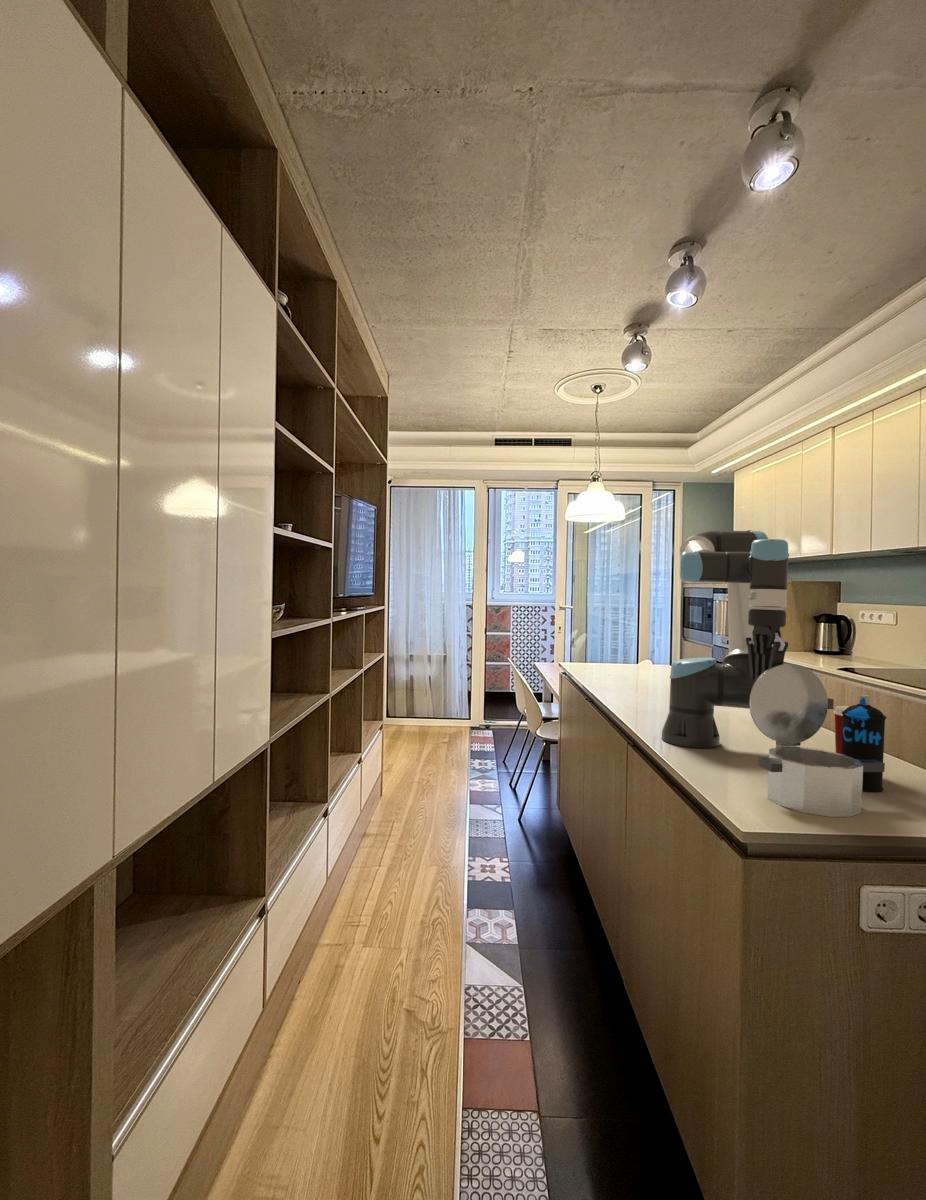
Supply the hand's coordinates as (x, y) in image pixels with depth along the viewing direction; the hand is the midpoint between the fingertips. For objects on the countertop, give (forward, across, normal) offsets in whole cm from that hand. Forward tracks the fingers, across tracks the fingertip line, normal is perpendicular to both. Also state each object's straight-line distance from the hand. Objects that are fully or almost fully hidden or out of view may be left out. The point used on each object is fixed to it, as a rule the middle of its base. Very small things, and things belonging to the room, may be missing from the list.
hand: (763, 713), depth 136 cm
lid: (-3, +6, +3) cm, 8 cm away
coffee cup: (+15, -7, +26) cm, 31 cm away
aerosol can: (+15, +4, +20) cm, 25 cm away
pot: (+15, +14, +4) cm, 21 cm away
